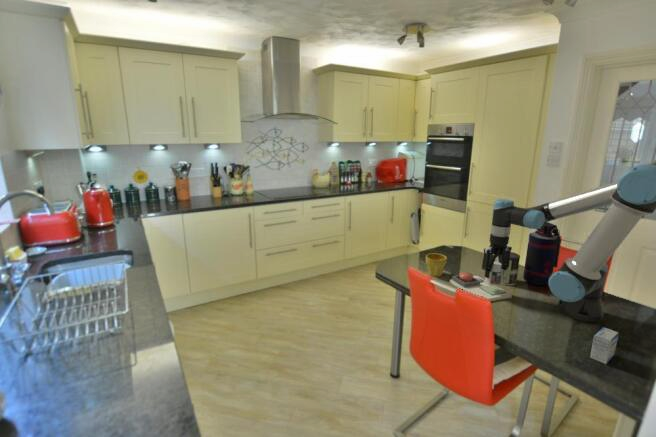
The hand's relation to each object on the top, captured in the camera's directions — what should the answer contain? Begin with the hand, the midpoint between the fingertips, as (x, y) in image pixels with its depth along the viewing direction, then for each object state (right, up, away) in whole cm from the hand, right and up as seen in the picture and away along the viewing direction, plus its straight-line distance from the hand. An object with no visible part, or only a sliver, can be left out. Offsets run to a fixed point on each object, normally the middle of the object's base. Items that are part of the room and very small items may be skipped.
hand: (493, 282), depth 155 cm
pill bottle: (0, -1, 0) cm, 1 cm away
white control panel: (-4, -4, +5) cm, 8 cm away
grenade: (+29, -2, +13) cm, 32 cm away
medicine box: (+15, -16, -43) cm, 48 cm away
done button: (-9, 0, +9) cm, 13 cm away
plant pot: (-20, 0, +23) cm, 30 cm away
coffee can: (+13, -2, +14) cm, 19 cm away
